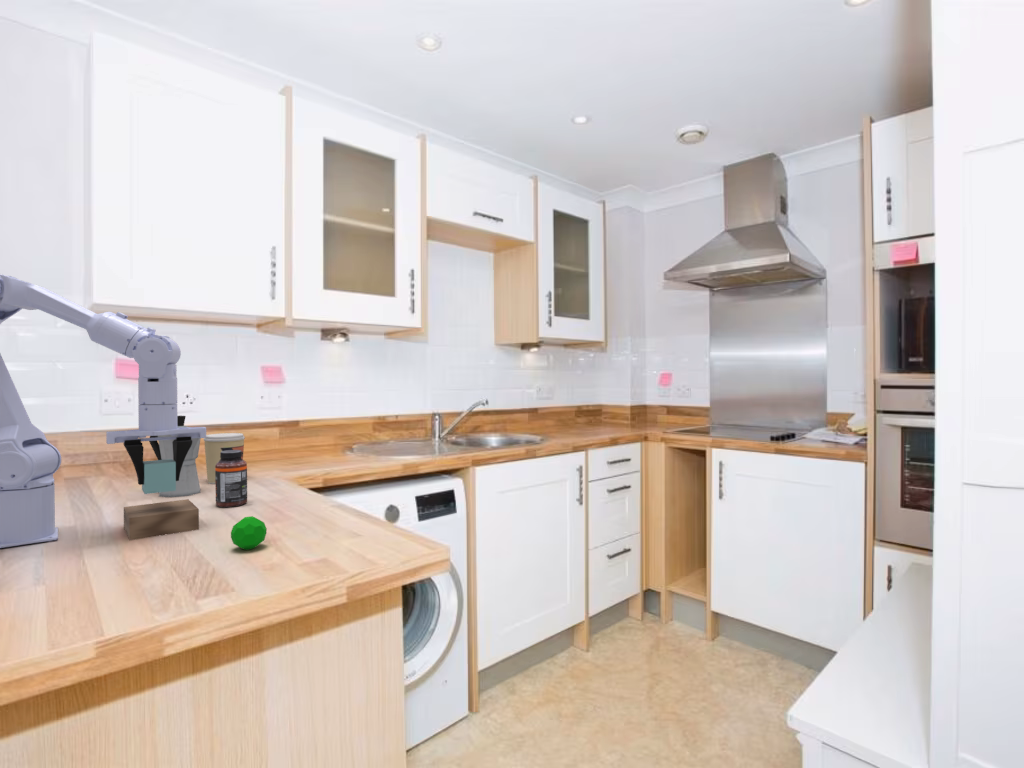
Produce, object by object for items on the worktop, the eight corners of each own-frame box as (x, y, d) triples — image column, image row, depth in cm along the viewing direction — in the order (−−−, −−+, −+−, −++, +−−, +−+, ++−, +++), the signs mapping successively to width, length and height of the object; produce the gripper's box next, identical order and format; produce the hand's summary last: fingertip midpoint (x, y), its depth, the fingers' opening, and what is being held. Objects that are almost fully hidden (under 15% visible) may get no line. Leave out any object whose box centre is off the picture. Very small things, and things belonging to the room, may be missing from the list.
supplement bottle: (217, 502, 116) (217, 449, 116) (248, 500, 118) (248, 448, 118) (213, 509, 111) (212, 453, 110) (245, 506, 113) (245, 452, 113)
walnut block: (129, 542, 89) (129, 518, 89) (123, 529, 97) (123, 507, 97) (198, 531, 96) (198, 508, 96) (188, 520, 103) (188, 499, 103)
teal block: (144, 494, 92) (144, 464, 92) (141, 489, 95) (141, 461, 95) (175, 490, 95) (175, 461, 95) (172, 486, 98) (171, 459, 98)
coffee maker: (217, 490, 128) (217, 414, 128) (186, 498, 120) (185, 417, 120) (167, 487, 132) (167, 413, 132) (133, 495, 124) (133, 416, 124)
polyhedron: (226, 548, 85) (226, 517, 85) (259, 541, 89) (259, 512, 89) (237, 555, 82) (237, 523, 82) (271, 548, 85) (271, 517, 85)
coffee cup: (227, 485, 135) (227, 437, 135) (195, 483, 137) (194, 436, 137) (252, 478, 144) (252, 433, 144) (222, 477, 146) (221, 432, 146)
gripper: (107, 406, 87) (108, 491, 87) (209, 403, 96) (210, 480, 97) (105, 404, 93) (106, 484, 93) (202, 402, 102) (202, 474, 102)
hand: (158, 482), depth 95 cm, fingers closed on teal block, 4 cm apart
